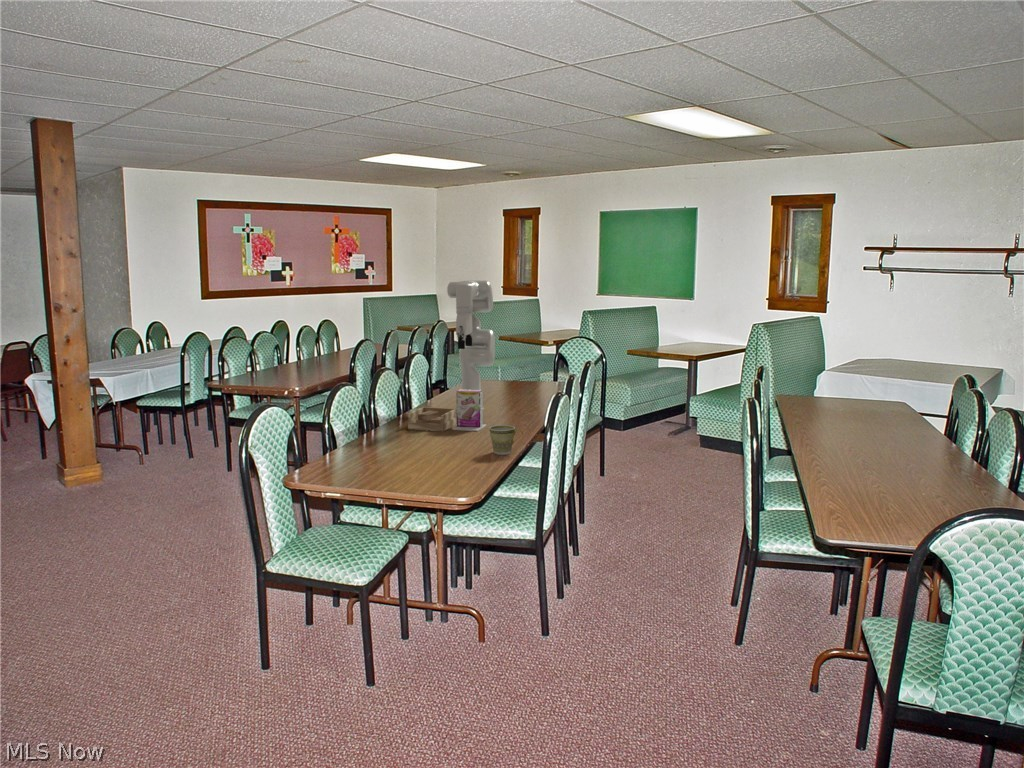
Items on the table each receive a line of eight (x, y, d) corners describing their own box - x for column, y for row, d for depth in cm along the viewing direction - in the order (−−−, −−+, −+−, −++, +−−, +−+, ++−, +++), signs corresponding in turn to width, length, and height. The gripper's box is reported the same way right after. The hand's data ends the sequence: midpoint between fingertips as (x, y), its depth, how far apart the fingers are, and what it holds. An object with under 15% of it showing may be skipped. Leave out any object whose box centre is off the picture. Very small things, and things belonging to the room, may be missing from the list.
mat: (461, 424, 346) (461, 422, 346) (486, 425, 342) (486, 424, 342) (452, 429, 335) (452, 428, 334) (477, 431, 331) (477, 430, 331)
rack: (423, 421, 352) (423, 407, 351) (457, 423, 347) (456, 408, 346) (408, 429, 336) (407, 413, 335) (442, 431, 331) (442, 415, 330)
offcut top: (417, 419, 335) (417, 414, 334) (429, 416, 342) (429, 410, 342) (426, 420, 332) (426, 414, 332) (438, 417, 340) (438, 411, 340)
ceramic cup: (487, 455, 289) (487, 430, 287) (491, 449, 299) (491, 424, 297) (521, 456, 287) (521, 431, 285) (524, 450, 297) (524, 425, 295)
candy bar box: (456, 426, 337) (455, 390, 335) (459, 424, 342) (458, 389, 340) (480, 427, 335) (480, 391, 333) (483, 425, 340) (482, 389, 338)
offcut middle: (418, 422, 341) (418, 416, 341) (442, 422, 340) (442, 417, 340) (415, 424, 336) (415, 419, 335) (440, 425, 335) (439, 419, 334)
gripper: (463, 308, 354) (464, 344, 357) (449, 312, 338) (450, 349, 341) (478, 308, 352) (479, 345, 355) (465, 312, 335) (466, 350, 339)
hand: (465, 347), depth 348 cm, fingers open, 9 cm apart
